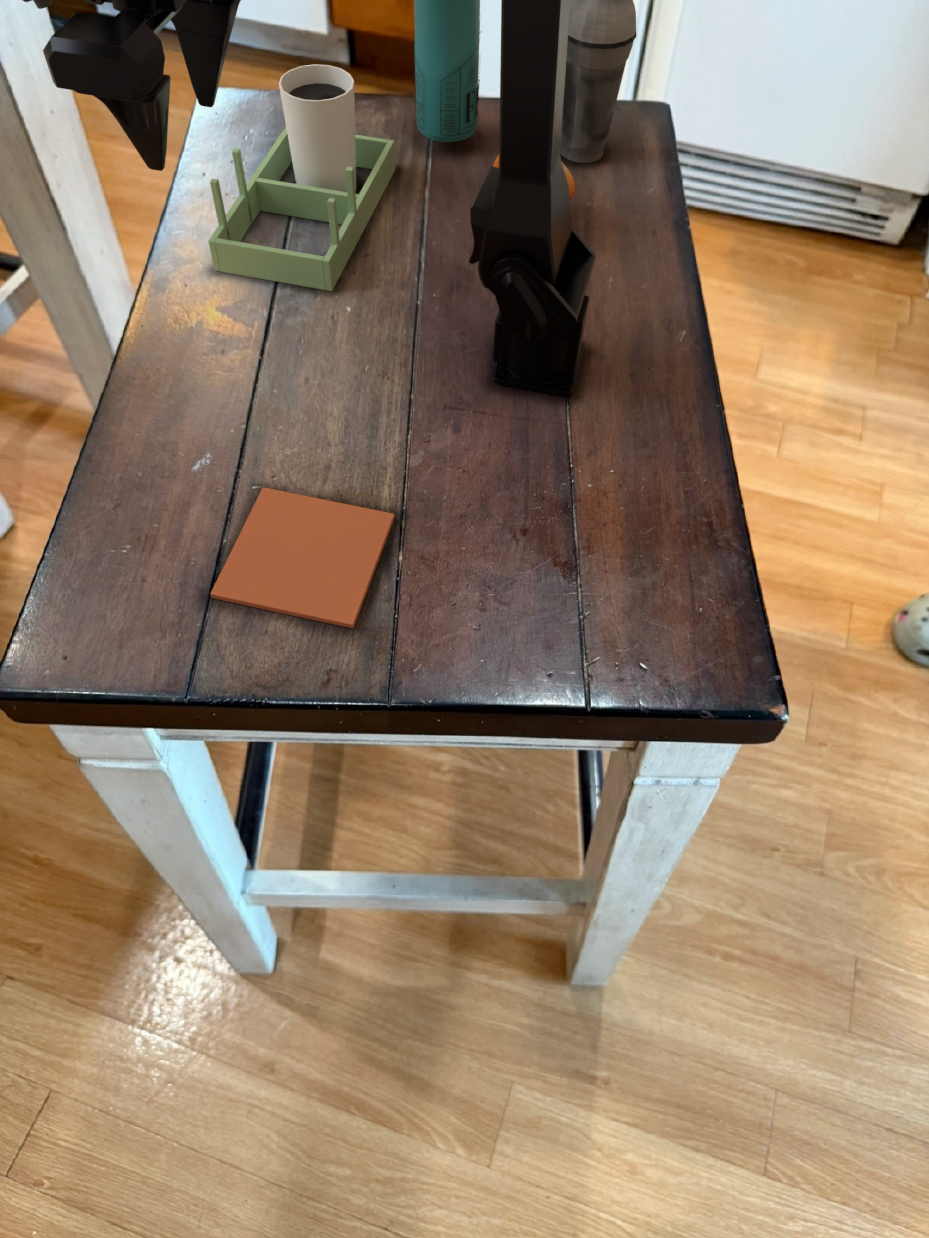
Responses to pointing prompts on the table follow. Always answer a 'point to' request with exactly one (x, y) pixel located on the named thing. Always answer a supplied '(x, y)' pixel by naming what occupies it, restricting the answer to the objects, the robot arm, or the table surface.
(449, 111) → the beverage bottle
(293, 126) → the off-white tumbler
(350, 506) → the mat
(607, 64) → the beverage cup
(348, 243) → the dish rack
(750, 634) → the table surface
